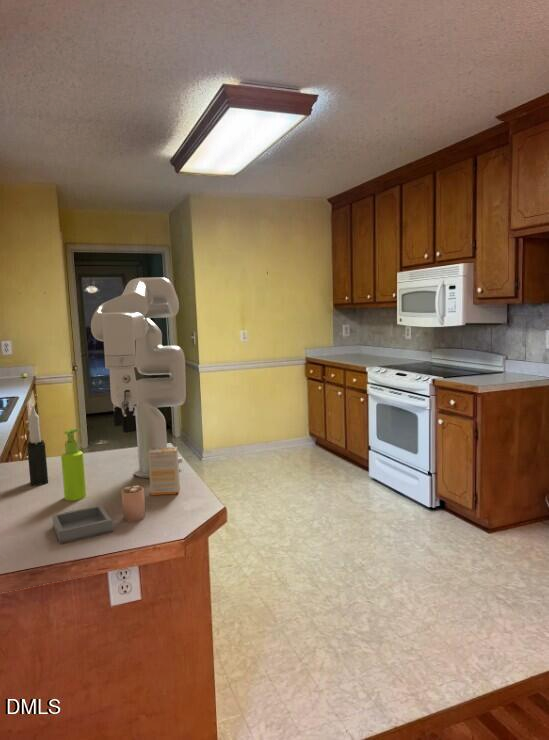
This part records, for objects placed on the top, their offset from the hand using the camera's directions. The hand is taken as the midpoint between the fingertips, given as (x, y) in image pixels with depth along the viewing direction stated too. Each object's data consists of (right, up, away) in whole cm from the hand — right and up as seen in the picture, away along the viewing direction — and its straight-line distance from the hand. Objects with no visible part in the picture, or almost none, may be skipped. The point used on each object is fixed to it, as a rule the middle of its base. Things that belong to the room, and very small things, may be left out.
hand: (125, 428), depth 133 cm
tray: (-9, -25, -4) cm, 27 cm away
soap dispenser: (-20, -22, +20) cm, 36 cm away
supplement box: (+6, -22, +21) cm, 31 cm away
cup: (+2, -24, +2) cm, 24 cm away
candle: (-37, -21, +34) cm, 55 cm away
